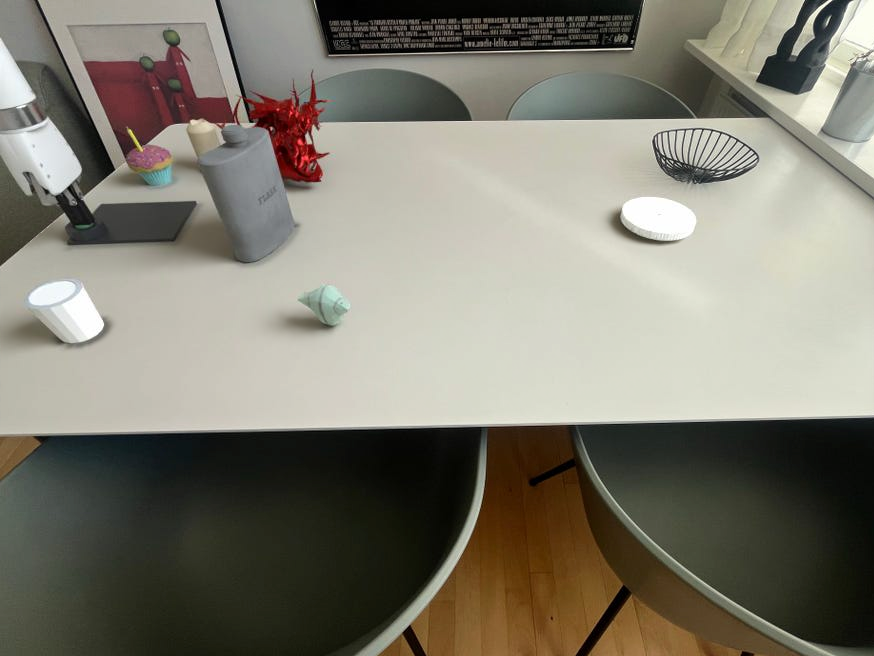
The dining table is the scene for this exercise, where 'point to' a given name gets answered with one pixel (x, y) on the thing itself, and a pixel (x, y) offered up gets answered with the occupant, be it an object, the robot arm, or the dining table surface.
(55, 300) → the shot glass
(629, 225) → the plastic lid
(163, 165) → the cupcake
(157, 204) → the scale
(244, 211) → the flask
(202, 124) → the candle
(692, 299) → the dining table surface
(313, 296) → the mint green pointed part
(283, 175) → the sculptural form
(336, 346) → the dining table surface
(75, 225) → the tare button
